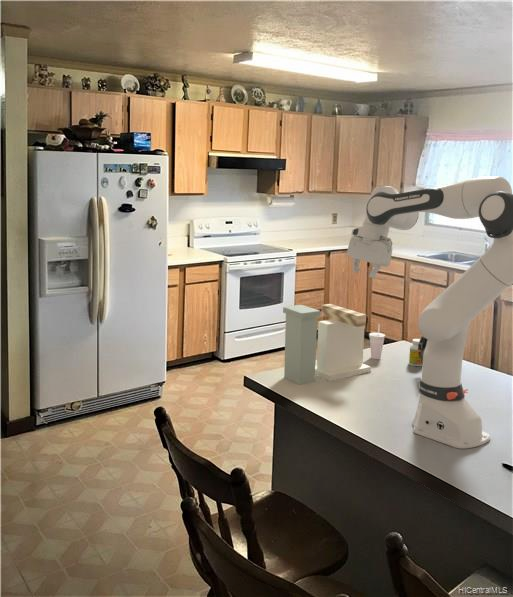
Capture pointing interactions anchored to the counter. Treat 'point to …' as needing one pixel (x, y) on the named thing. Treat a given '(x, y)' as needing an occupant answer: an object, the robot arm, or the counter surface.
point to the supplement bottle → (414, 353)
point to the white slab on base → (339, 350)
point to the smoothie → (376, 344)
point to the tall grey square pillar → (300, 343)
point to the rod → (344, 315)
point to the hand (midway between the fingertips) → (363, 275)
